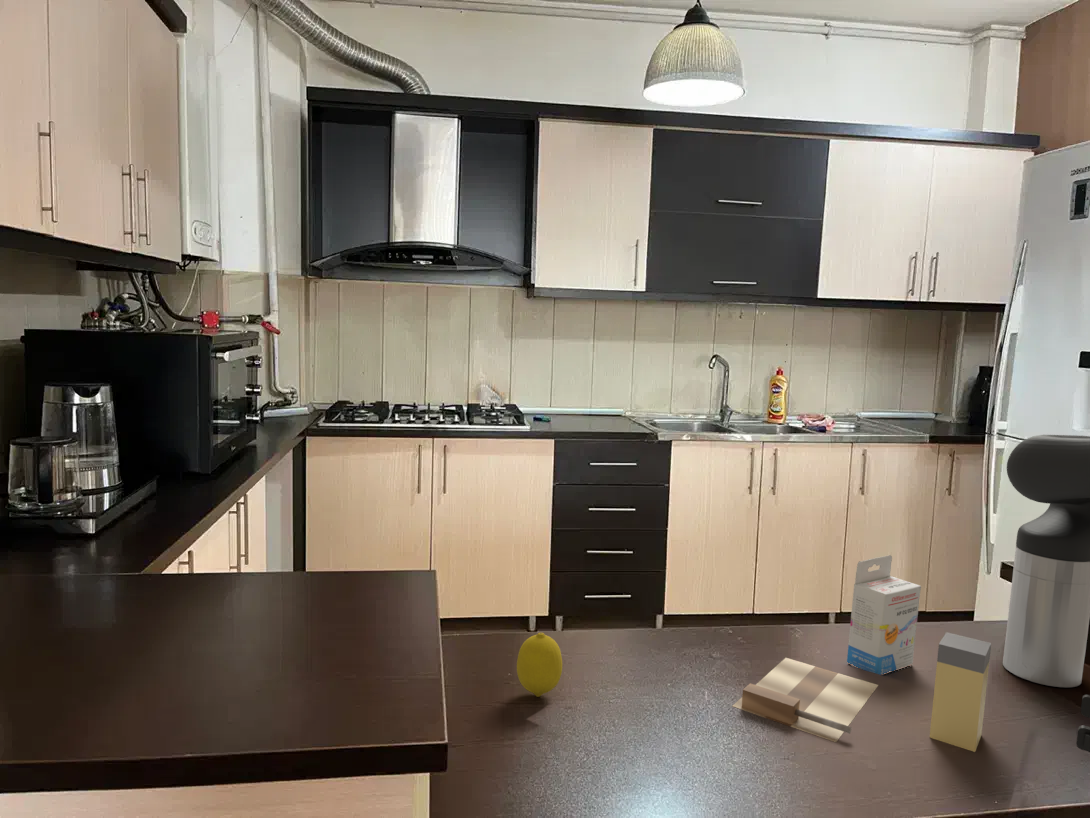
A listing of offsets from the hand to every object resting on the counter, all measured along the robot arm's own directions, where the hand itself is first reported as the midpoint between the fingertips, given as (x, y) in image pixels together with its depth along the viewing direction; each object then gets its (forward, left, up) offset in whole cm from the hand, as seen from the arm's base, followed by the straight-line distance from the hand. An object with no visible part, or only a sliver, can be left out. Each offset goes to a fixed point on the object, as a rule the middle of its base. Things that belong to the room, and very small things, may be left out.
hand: (1079, 719), depth 79 cm
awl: (+9, -27, -6) cm, 29 cm away
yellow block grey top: (0, -11, -7) cm, 13 cm away
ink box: (-17, -23, -7) cm, 29 cm away
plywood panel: (+1, -27, -7) cm, 28 cm away
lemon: (+22, -53, -7) cm, 58 cm away
